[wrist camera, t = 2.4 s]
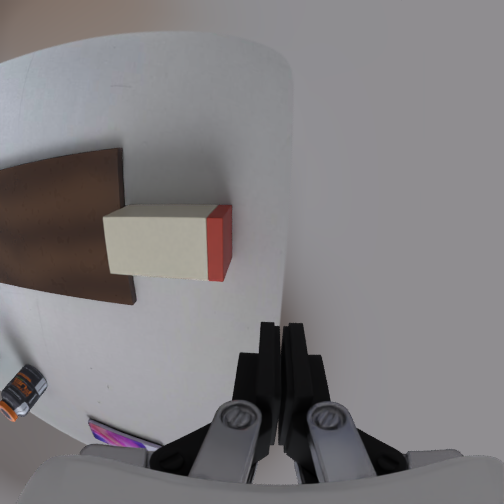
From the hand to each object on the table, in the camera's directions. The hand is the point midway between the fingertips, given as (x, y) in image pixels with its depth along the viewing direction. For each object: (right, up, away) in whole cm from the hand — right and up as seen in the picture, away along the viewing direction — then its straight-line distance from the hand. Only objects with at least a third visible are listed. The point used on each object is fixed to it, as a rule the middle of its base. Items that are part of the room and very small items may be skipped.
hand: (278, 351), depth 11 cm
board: (-33, +7, +16) cm, 37 cm away
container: (-8, +6, +15) cm, 18 cm away
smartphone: (-24, -31, +29) cm, 49 cm away
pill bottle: (-41, -19, +26) cm, 52 cm away
